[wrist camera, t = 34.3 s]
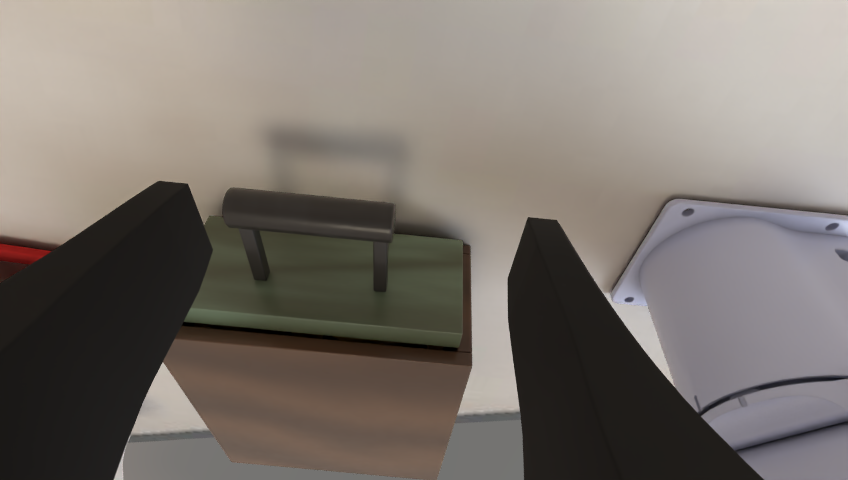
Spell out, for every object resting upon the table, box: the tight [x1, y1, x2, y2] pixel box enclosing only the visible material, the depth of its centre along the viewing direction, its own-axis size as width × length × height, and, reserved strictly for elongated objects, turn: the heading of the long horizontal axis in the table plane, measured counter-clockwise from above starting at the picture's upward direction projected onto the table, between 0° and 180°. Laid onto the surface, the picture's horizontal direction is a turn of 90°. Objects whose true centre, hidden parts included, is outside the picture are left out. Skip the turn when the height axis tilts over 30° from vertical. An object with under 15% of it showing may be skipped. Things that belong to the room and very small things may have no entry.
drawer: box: [184, 188, 463, 350], centre depth 25 cm, size 20×13×6 cm, turn 176°
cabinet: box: [163, 245, 472, 480], centre depth 28 cm, size 16×14×7 cm
